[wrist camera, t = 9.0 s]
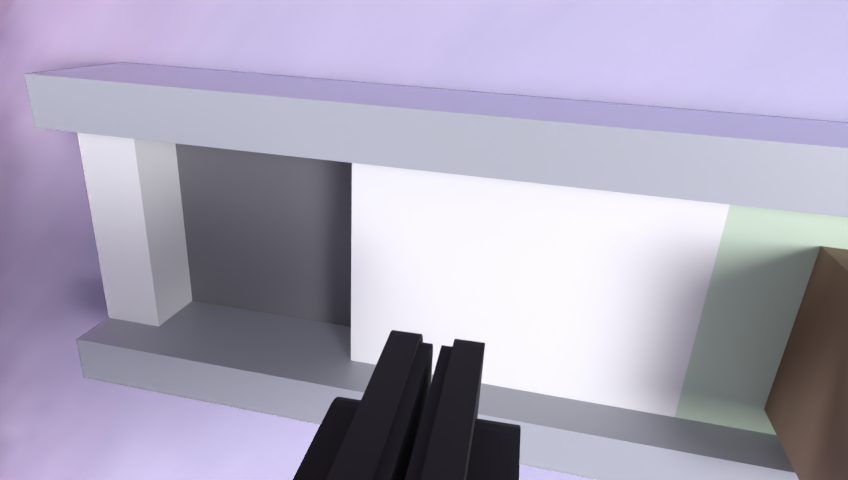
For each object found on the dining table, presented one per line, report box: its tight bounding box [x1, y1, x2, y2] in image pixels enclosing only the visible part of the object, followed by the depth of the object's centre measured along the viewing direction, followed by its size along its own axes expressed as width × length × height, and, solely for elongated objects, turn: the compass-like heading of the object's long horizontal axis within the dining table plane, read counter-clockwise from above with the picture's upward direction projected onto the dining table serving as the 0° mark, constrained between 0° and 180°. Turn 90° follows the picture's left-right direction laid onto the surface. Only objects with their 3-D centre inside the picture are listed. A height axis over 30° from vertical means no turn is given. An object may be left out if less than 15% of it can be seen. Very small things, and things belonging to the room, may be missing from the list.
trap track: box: [24, 62, 848, 480], centre depth 17 cm, size 10×35×4 cm, turn 87°
